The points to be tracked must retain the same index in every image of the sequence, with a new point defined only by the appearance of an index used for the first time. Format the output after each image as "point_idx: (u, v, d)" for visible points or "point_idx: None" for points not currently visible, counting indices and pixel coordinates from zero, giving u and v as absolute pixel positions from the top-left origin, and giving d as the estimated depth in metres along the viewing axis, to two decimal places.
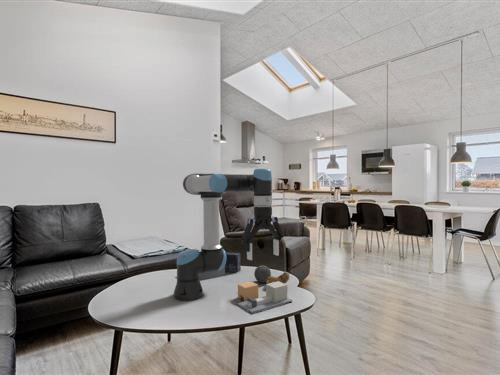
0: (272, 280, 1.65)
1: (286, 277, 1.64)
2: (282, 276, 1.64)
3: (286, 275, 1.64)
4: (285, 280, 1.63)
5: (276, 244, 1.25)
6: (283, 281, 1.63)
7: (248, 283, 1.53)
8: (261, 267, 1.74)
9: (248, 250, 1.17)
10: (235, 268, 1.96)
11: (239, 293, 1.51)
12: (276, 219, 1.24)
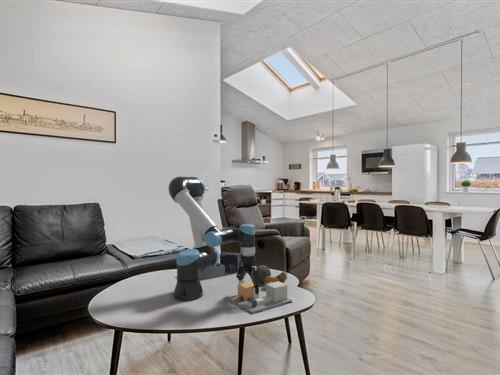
0: (270, 280, 1.65)
1: (284, 277, 1.64)
2: (280, 276, 1.64)
3: (284, 275, 1.65)
4: (283, 280, 1.64)
5: None
6: (281, 281, 1.64)
7: (248, 283, 1.53)
8: (261, 267, 1.74)
9: None
10: (235, 268, 1.96)
11: (239, 293, 1.51)
12: (252, 268, 1.45)
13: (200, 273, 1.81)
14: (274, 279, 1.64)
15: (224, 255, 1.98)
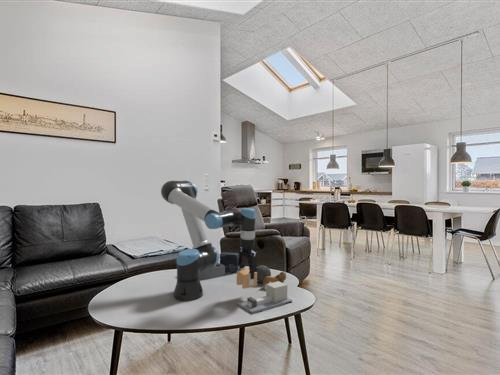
0: (269, 280, 1.65)
1: (283, 277, 1.64)
2: (279, 276, 1.65)
3: (283, 275, 1.65)
4: (282, 280, 1.64)
5: None
6: (280, 281, 1.64)
7: (247, 270, 1.53)
8: (261, 267, 1.74)
9: None
10: (235, 268, 1.96)
11: (238, 280, 1.51)
12: (251, 254, 1.46)
13: (200, 273, 1.81)
14: (273, 279, 1.64)
15: (224, 255, 1.98)
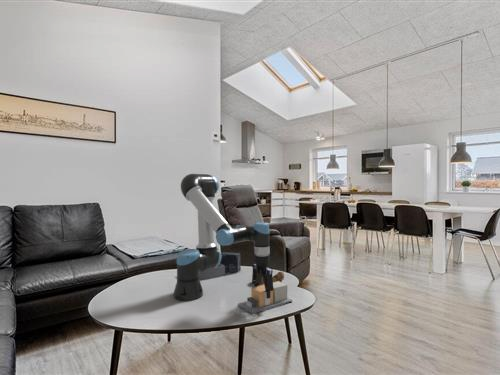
0: None
1: (281, 276, 1.65)
2: (277, 276, 1.65)
3: (281, 274, 1.65)
4: (280, 279, 1.64)
5: None
6: (278, 280, 1.64)
7: (262, 287, 1.44)
8: None
9: None
10: (235, 268, 1.96)
11: (253, 297, 1.42)
12: (267, 272, 1.37)
13: (200, 273, 1.81)
14: None
15: (224, 255, 1.98)
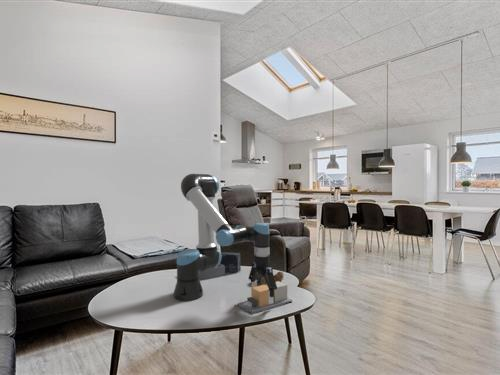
0: None
1: (280, 276, 1.65)
2: (277, 276, 1.65)
3: (280, 274, 1.65)
4: (280, 279, 1.65)
5: None
6: (278, 280, 1.64)
7: (262, 287, 1.44)
8: None
9: (252, 286, 1.49)
10: (235, 268, 1.96)
11: (253, 297, 1.42)
12: (267, 270, 1.37)
13: (200, 273, 1.81)
14: None
15: (224, 255, 1.98)
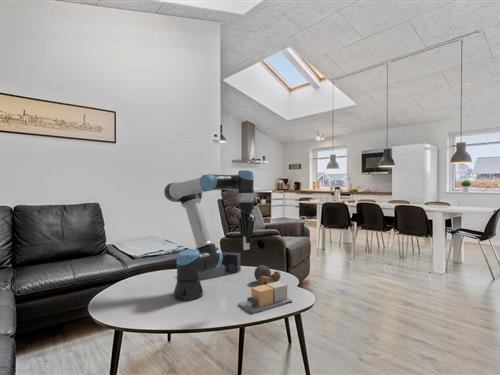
0: (264, 280, 1.65)
1: (278, 276, 1.65)
2: (274, 275, 1.65)
3: (278, 274, 1.66)
4: (277, 279, 1.65)
5: None
6: (275, 280, 1.65)
7: (262, 287, 1.44)
8: (261, 267, 1.74)
9: None
10: (235, 268, 1.96)
11: (253, 297, 1.42)
12: (250, 218, 1.40)
13: (200, 273, 1.81)
14: (268, 279, 1.65)
15: (224, 255, 1.98)
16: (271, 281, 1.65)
